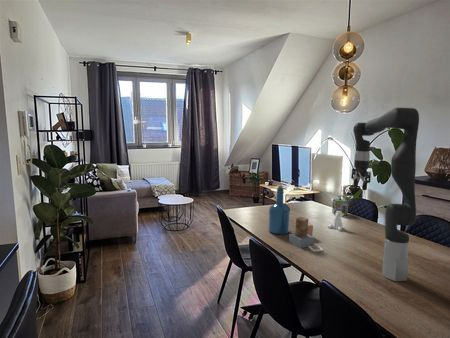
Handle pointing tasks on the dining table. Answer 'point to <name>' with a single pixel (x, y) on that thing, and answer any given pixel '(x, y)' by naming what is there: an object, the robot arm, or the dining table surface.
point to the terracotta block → (310, 229)
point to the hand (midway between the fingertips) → (359, 188)
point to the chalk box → (340, 206)
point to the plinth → (301, 240)
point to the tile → (315, 248)
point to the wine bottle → (279, 215)
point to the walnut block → (301, 227)
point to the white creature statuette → (337, 221)
